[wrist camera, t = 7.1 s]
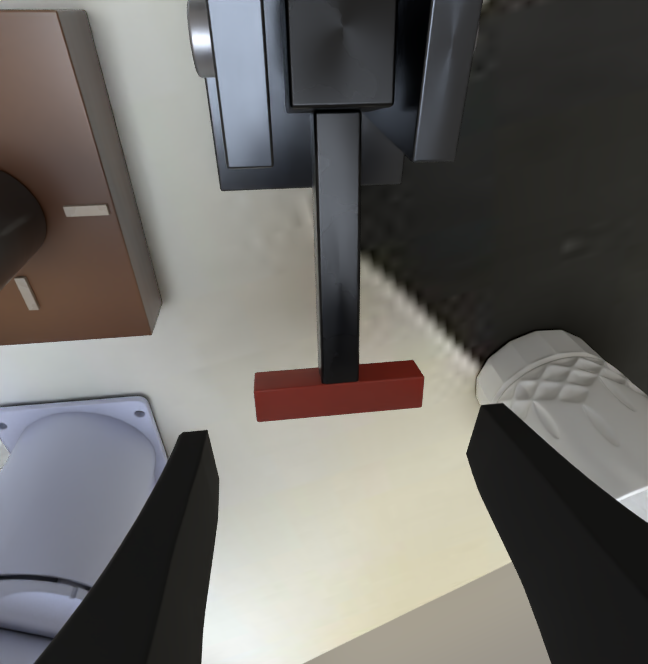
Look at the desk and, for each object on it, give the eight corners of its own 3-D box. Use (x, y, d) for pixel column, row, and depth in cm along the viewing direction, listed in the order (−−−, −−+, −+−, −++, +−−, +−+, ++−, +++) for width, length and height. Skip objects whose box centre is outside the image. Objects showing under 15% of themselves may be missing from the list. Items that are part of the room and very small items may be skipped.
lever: (406, 378, 15) (429, 420, 13) (258, 391, 14) (256, 437, 12) (431, -23, 10) (475, -66, 8) (215, -25, 10) (200, -70, 8)
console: (162, 303, 20) (151, 337, 18) (-21, 315, 19) (-55, 352, 17) (86, 9, 14) (53, 9, 12) (-196, 9, 13) (-285, 9, 11)
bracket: (394, 175, 18) (473, 271, 11) (222, 181, 17) (200, 288, 11) (429, -193, 12) (638, -441, 5) (169, -205, 11) (46, -504, 5)
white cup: (504, 309, 23) (635, 469, 15) (622, 329, 25) (794, 480, 17) (444, 412, 27) (521, 579, 19) (549, 423, 29) (658, 578, 21)
